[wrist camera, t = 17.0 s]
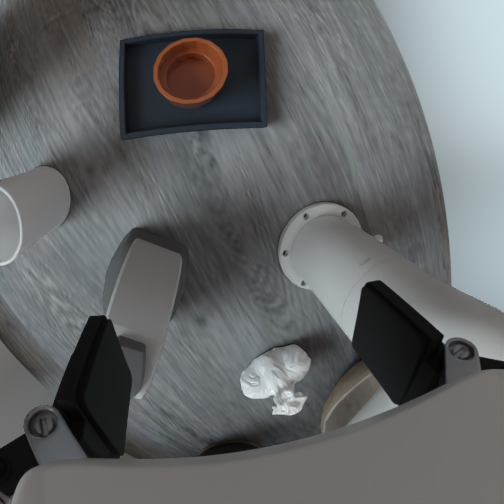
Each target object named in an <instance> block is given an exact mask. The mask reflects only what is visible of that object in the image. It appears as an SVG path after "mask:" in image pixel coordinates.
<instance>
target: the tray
mask: <svg viewBox="0 0 504 504" xmlns="http://www.w3.org/2000/svg"><path fill="white" fill-rule="evenodd" d="M184 38H201V39H205V40H208V41H211V42H213V43H214V44H215V45H216V46H218V47H219V48H220V49H221V50H222V51H223V53H224V55H225V57H226V59H227V61H228V75H227V78H226V80H225V82H224V85H223V87H222V89H221V91H220V92H219V94H218V95H217V96H216V97H215V98H214V99H213V100H212V101H211V102H210V103H208V104H206V105H204V106H201V107H199V108H193V109H183V108H179V107H176V106H173V105H172V104H170V103H169V102H168V101H167V100H165V99H164V98H163V96H162V95H161V93H160V92H159V90H158V88H157V86H156V84H155V82H154V78H153V67H154V64H155V62H156V60H157V58H158V56H159V54H160V53H161V52H162V51H163V50H164V49H165V48H166V47H167V46H168V45H170V44H172V43H174V42H176V41H178V40H181V39H184ZM119 111H120V132H121V140H127V139H133V138H140V137H147V136H154V135H162V134H171V133H180V132H191V131H203V130H217V129H237V128H264V127H267V104H266V78H265V55H264V34H263V30H246V29H213V30H192V31H180V32H170V33H161V34H153V35H147V36H140V37H134V38H129V39H124V40H120V55H119Z"/></svg>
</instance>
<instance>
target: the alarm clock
mask: <svg viewBox="0 0 504 504" xmlns="http://www.w3.org/2000/svg"><path fill="white" fill-rule="evenodd" d="M187 264H188V257H187V249H186V247H185V246H184V245H181V244H179V243H176V242H173V241H171V240H168V239H165V238H163V237H160V236H157V235H155V234H152V233H149V232H147V231H144V230H142V229H139V228H134V229H132V230H131V231H130V232H129V233H128V234H127V235H126V236H125V237H124V239H123V241H122V242H121V244H120V245H119V247H118V249H117V250H116V252H115V254H114V256H113V258H112V259H111V262H110V265H109V267H108V270H107V273H106V279H105V285H104V292H103V309H104V312H105V316H106V317H107V319H111V320H112V323H113V325H114V328H115V331H116V334H117V337H118V340H119V343H120V346H121V348H122V351H123V354H124V356H125V359H126V361H127V364H128V366H129V369H130V371H131V374H132V388H131V395H130V399H131V398H133V397H134V398H138V399H141V398H143V397H144V396H145V394H146V393H147V391H148V389H149V386H150V384H151V381H152V379H153V376H154V373H155V370H156V367H157V364H158V361H159V358H160V354H161V351H162V347H163V344H164V341H165V337H166V333H167V330H168V326H169V322H170V321H171V319H172V317H173V315H174V313H175V311H176V309H177V307H178V305H179V303H180V301H181V298H182V295H183V291H184V288H185V282H186V274H187Z"/></svg>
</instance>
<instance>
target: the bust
mask: <svg viewBox="0 0 504 504" xmlns="http://www.w3.org/2000/svg"><path fill="white" fill-rule="evenodd" d="M310 365H311V359H310V358H309V357H308V355H307V353H306V352H305V351H304V350H303V349H302V348H300V347H299V346H297V345H294V344H292V345H288V346H285V347H277V348H273V349H272V350H270V351H268V352H265V353H264V354H262V355H260V356H259V357H257V358H255V359H254V360H253V361H252V363H251V364H250V365H249V366H248V367H247V368H246V369H245V370H244V371H243V372H242V374H241V379H240V382H241V388H242V391H243V393H244V395H245V396H247V397H249V398H252V399H257V398H261V399H263V398H267V397H269V396H270V395H275V397H274V398H273V400H274V402H275V403H276V404H277V407H275V406H273V407H272V408H273V412H272V414H273V415H274V414H279V415H281V414H284V415H288V416H290V415H294V414H296V413H297V412H299V411H300V410H302V408H303V404H304V403H305V401H306V399H307V397H308V396H307V395H303V394H302V392H298V393H296V394H294V387H295V386H294V384H295V383H296V382H298V381H300V380H302V379H303V377H304V376H305V375H306V373H307V372H308V370H309V368H310Z"/></svg>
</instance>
